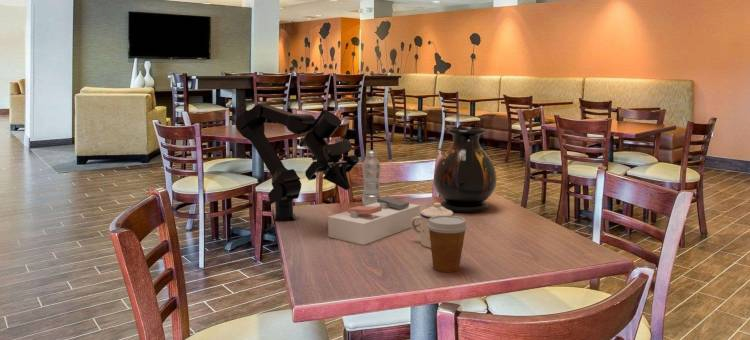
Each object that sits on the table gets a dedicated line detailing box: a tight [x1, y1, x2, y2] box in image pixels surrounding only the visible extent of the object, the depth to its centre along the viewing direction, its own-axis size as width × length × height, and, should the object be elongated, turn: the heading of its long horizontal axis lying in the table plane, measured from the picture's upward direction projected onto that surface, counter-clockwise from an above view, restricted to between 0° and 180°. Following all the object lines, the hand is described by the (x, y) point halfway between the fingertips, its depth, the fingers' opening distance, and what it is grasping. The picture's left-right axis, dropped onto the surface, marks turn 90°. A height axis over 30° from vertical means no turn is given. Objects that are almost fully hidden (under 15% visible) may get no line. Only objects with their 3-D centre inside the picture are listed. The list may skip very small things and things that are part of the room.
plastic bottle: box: [361, 149, 382, 206], centre depth 198 cm, size 6×7×20 cm
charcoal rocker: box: [377, 195, 410, 209], centre depth 174 cm, size 8×5×1 cm, turn 53°
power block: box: [327, 202, 421, 246], centre depth 170 cm, size 13×28×8 cm, turn 143°
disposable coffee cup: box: [427, 215, 468, 273], centre depth 136 cm, size 10×10×12 cm
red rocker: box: [347, 205, 382, 214], centre depth 163 cm, size 8×5×1 cm, turn 52°
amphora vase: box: [433, 126, 497, 214], centre depth 197 cm, size 22×22×28 cm
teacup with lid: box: [411, 201, 455, 249], centre depth 156 cm, size 12×9×12 cm
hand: (348, 189), depth 166 cm, fingers closed
